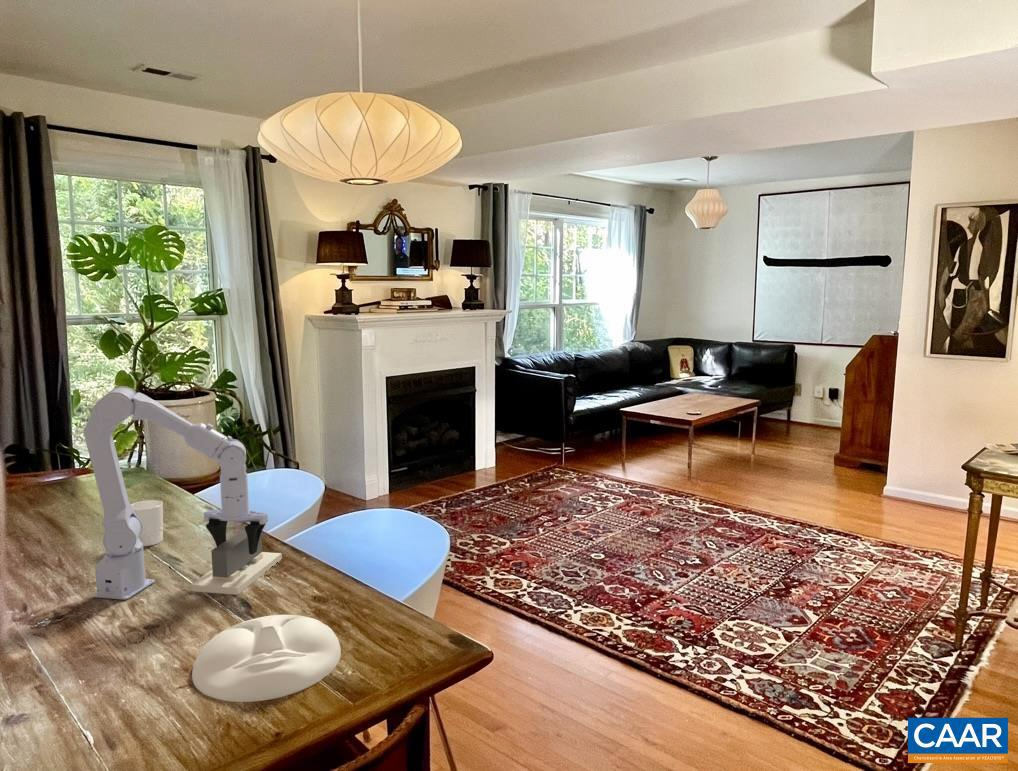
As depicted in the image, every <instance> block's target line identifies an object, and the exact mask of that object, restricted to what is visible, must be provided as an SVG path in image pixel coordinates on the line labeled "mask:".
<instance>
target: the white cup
mask: <svg viewBox="0 0 1018 771" xmlns="http://www.w3.org/2000/svg"><path fill="white" fill-rule="evenodd" d="M130 504H131V505H132V507H133V509H134V513H135V514H136V516H137V517H138V518H139V519H140V520H141V522H142V526H143V528H142V532H141V533H140V535H139V536H138V538H139V540H140V541H141V542H142V543H143V547H148V546H149V547H150V546H154V545H157V544H160V543H162V542H163V539H164V532H163V531H164V510H163V509H164V504H163V501H161V500H158V499H151V500H150V499H149V500H147V499H146V500H142V501H136V502H134V503H130Z"/></svg>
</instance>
